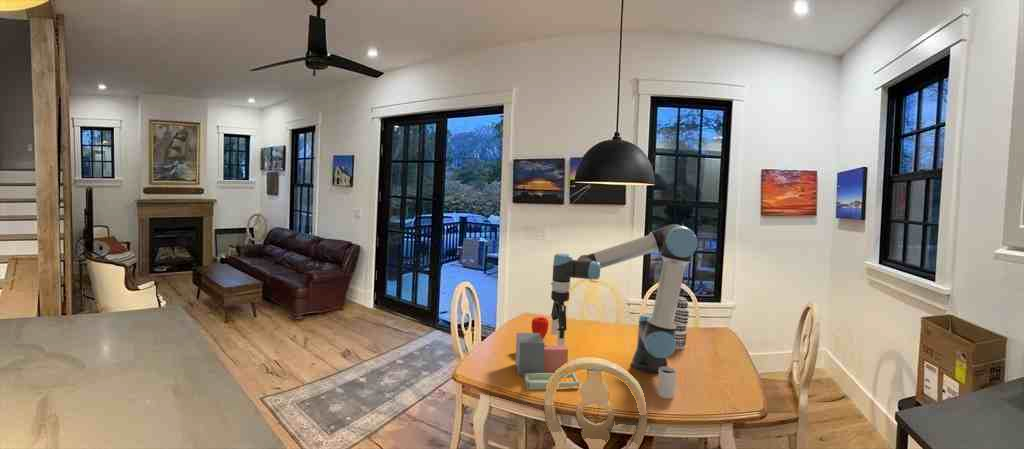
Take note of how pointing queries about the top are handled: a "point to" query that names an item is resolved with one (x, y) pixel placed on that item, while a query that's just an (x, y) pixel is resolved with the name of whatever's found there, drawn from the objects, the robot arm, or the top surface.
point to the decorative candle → (681, 322)
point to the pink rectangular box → (554, 357)
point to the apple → (540, 326)
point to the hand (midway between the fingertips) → (557, 339)
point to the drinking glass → (666, 382)
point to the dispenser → (529, 353)
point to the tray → (545, 380)
